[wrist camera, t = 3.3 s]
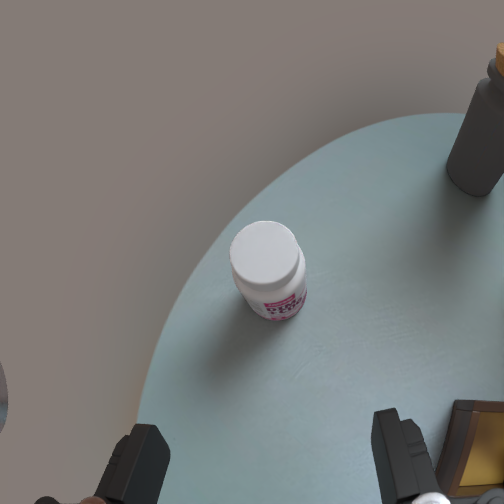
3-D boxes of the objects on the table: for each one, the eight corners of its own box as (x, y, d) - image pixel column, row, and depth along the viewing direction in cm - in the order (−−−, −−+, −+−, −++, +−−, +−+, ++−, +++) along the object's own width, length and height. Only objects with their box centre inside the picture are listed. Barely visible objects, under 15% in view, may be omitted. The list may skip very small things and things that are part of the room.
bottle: (471, 205, 26) (539, 91, 12) (435, 162, 28) (477, 40, 15) (502, 184, 26) (563, 80, 12) (467, 144, 28) (510, 35, 15)
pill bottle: (278, 334, 25) (263, 309, 17) (236, 295, 27) (205, 255, 19) (319, 289, 26) (322, 246, 18) (276, 254, 27) (261, 200, 20)
